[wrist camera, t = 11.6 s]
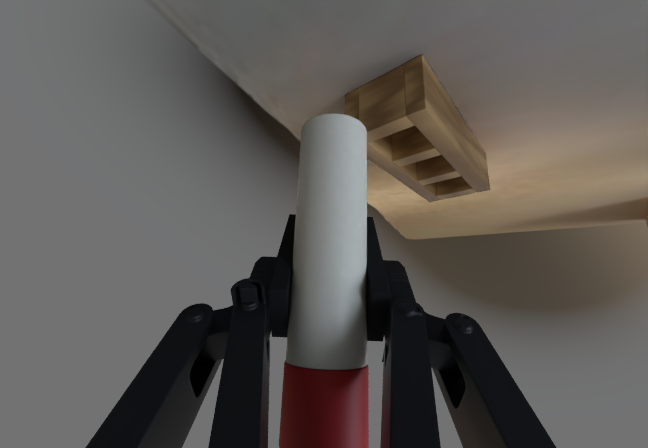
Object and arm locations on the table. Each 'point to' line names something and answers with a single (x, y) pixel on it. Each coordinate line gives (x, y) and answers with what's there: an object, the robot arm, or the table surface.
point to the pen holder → (419, 133)
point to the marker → (328, 291)
